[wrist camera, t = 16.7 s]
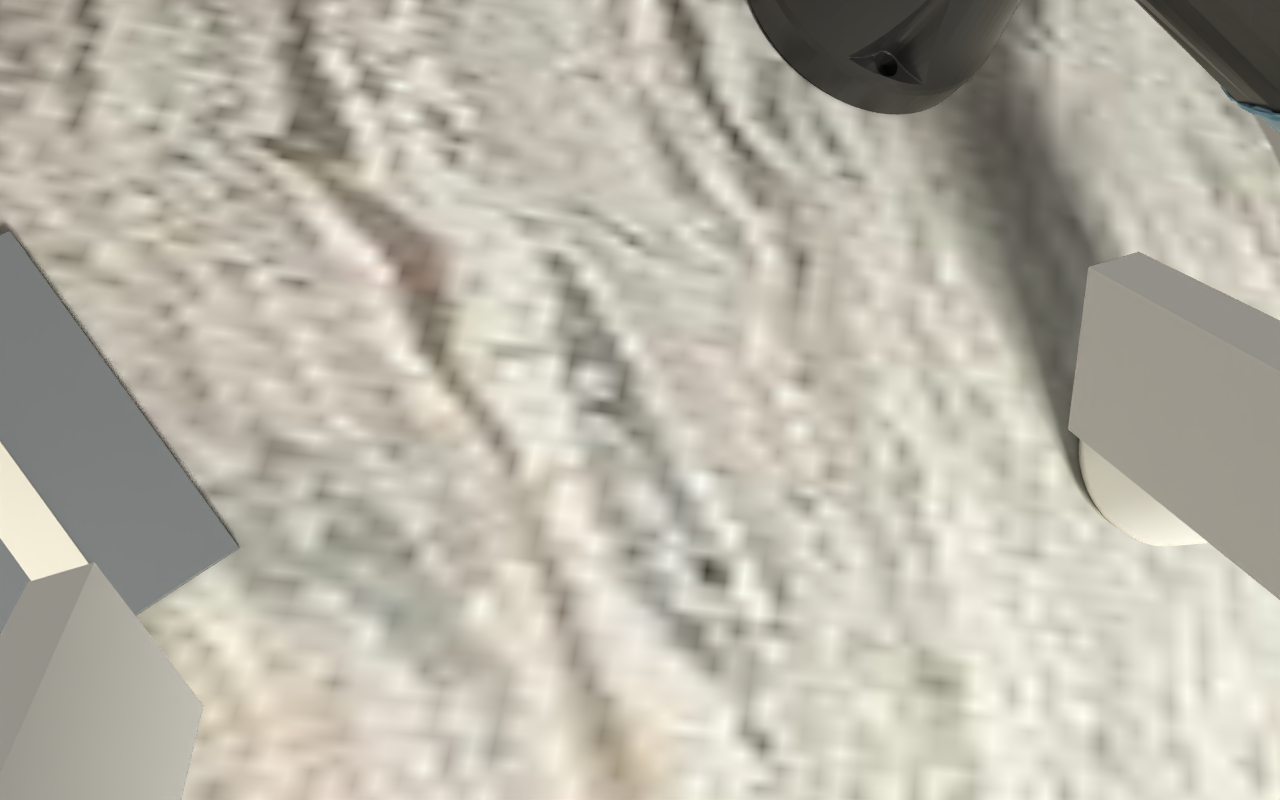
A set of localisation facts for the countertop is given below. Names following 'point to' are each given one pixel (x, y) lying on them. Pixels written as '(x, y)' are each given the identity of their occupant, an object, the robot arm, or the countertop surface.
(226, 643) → the countertop surface
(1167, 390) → the robot arm
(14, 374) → the letter board
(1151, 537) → the alcohol
